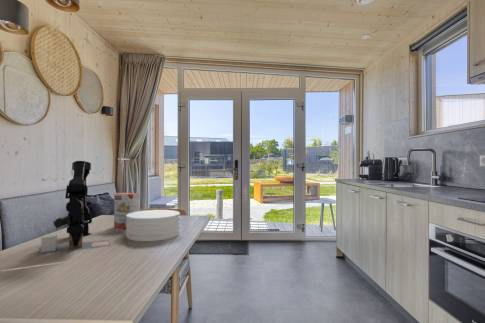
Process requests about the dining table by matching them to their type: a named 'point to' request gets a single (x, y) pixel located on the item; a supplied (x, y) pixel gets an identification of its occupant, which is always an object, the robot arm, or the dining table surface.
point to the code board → (84, 246)
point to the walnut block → (71, 244)
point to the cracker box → (124, 207)
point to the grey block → (49, 243)
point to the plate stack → (152, 225)
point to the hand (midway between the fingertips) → (75, 244)
